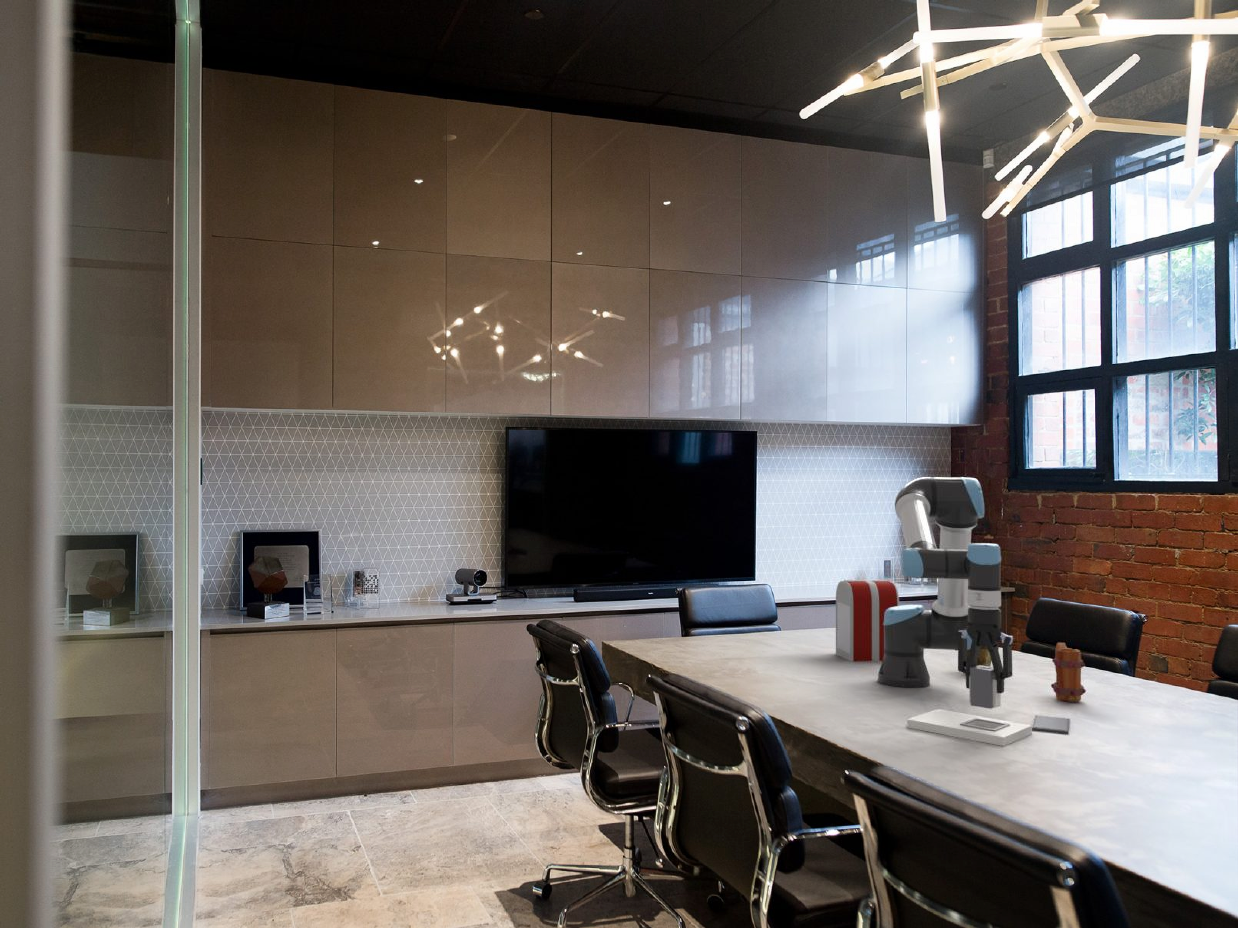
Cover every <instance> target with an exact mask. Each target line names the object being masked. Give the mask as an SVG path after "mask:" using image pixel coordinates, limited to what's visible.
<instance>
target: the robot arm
mask: <svg viewBox="0 0 1238 928" xmlns="http://www.w3.org/2000/svg"><path fill="white" fill-rule="evenodd" d="M984 501H985V500H984V495H983V490H982V486H981V483H980V481H979V480H978V479H977V478H974V477H963V476H960V477H959V476H956V477H952V476H949V477H947V476H946V477H942V476H941V477H930V476H929V477H928V476H925V477H918V478H916V479H914V480H913V479H912V480H911V481H910V482H908V483H906V485H904V486H903V487H902V488H901V489H900V491H899V492H898V493H897V496H896V497H895V499H894V511H895V515H896V517H897V518H898V519H899V520H900V524H901V528H902V534H903V538H904V539H903V540H904V543H905V548H904V549H902V550H901V553H900V567H901V568H900V572H901V575H902V576H903V577H905V578H913V579H915V580H917V579H938V580H937V599H936V600H935V601H933V602H932V604H931V610H930V609H929V610H928V609H925V608H924V605H921V604H905V605H902V604H901V605H899V606H895V607H891V608H888V609H887V610H886V611H885V613H884V623H883V625H884V658H883V661H881V664H880V667H879V671H878V673H877V681H878V682H879V683H880V684H883V685H888V686H893V687H900V688H901V687H903V688H921V687H922V688H923V687H927V686H930V684H931V681H930V680H931V677H930V674H929V669H928V667H927V664H926V661H925V657H924V655H925V653H924V651H925V650H927V649H928V650H946V651H947V650H950V651H957V671H958V672H960V673H963V674H964V675H965V688H966V689H968V690H969V692H968V694H969V696H968V699H969V704H971V701H970V668H971V667H975V666H976V663H977V659H978V655H979V651H980V649H981V647H982V646H985V647H987V649H988V651H989V653H990V657H991V665H992V667H993V669H994V673H995V677H996V678H995V679H993V707H994V708H995V709H996V708H998V707H1001V705H1002V704H1001V700H1002V699H1001V698H1002V697H1001V694H1003V693H1004V692H1005V680H1006V679H1008V678H1011V677H1013V646H1012V645H1013V643H1014V641H1015V637H1014V635H1008V634H1005V633H1004V631H1003V629H1002V610H1001V606H1002V590H1001V589H1002V584H1001V582H1002V579H1001V578H1002V577H1001V576H1002V575H1001V574H1002V573H1001V572H1002V571H1001V569H1002V568H1001V567H1002V566H1001V563H1002V556H1001V546H999V545H1000V544H998V543H989V542H988V543H986V542H984V543H983V542H981V543H980V542H979V543H978V542H977V543H974V542H971V540H972V530H973V529H974V528H976V526H978V519H982V518H984V517H985V502H984ZM930 518H935V520H934V521H935V523H936V525H938V526H939V528H940V530H939V531H940V532H939V535H940V536H939V548H938V547H937V544H936V540H935V536H934V532H933V528H932V524H931V520H930ZM1000 639H1001V643H1002V658H1001V655H1000V652H999V649H1000V648H999V647H1000V646H999V643H998V642H999V641H1000ZM969 649H971V650H970V654H969V658H968V662H967V650H969Z"/></svg>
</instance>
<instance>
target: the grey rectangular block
mask: <svg viewBox="0 0 1238 928" xmlns="http://www.w3.org/2000/svg"><path fill="white" fill-rule="evenodd" d="M995 678H996V677H995V673H994V669H993V666H990V667H989V666H981V665H978V666H975V667H971V668H970V701H971V703H970V706H973V707H979V708H983V709H990V710H992V709H993V708H995V707H993V679H995Z"/></svg>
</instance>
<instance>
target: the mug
mask: <svg viewBox="0 0 1238 928" xmlns="http://www.w3.org/2000/svg"><path fill="white" fill-rule="evenodd" d="M1054 652H1055V653H1054V655H1055V656H1054V658H1053V659H1051V660H1052V663H1053V664H1054V668H1055V677H1056V678H1055V682H1054V683H1051V684H1050V687H1051V688H1052V690H1053V692H1054V693H1055V699H1057V700H1058V701H1061V702H1070V703H1076V702H1080V701H1081V700H1082V696H1083V695H1084V694H1085V693H1086V692H1087V690H1086V688H1085V687H1084V686H1083V684H1082V668H1084V667H1086V664H1085V663H1084V660H1083V659H1082V655H1081V650H1080V649H1077V648H1076V649H1073V648H1071V647H1070V648H1069V647H1067V645H1066V643H1065V642H1057V643H1056V645H1055V650H1054Z"/></svg>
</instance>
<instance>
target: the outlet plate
mask: <svg viewBox="0 0 1238 928" xmlns="http://www.w3.org/2000/svg"><path fill="white" fill-rule="evenodd" d="M906 720H907V721H906V722H907V725H906V726H907V728H909V729H914V730H920V731H925V732H930V733H933V734H934V733H935V734H939V735H944V736H949V737H955V738H959V739H966V740H970V741H974V742H981V743H986V744H991V745H995V746H996V745H997V746H1001V747H1006V746H1008V745H1010V744H1012V743H1014V742H1016V741H1019V740H1021V739H1025V738H1027V737H1029V736H1030V735H1032V734H1033V731H1032V726H1033V725H1031V724H1026V723H1020V722H1019V723H1018V722H1015V721H1014V722H1013V721H1010V720H1009V721H1007V720H1003V719H997V718H991V717H987V716H986V717H985V716H979V715H975V714H974V715H973V714H969V713H964V712H963V713H962V712H957V711H951V710H947V709H941V708H937V709H934V710H931V711H927V712H924V713H922V714H919V715H916V716H913V717H910V718H907V719H906Z"/></svg>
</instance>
